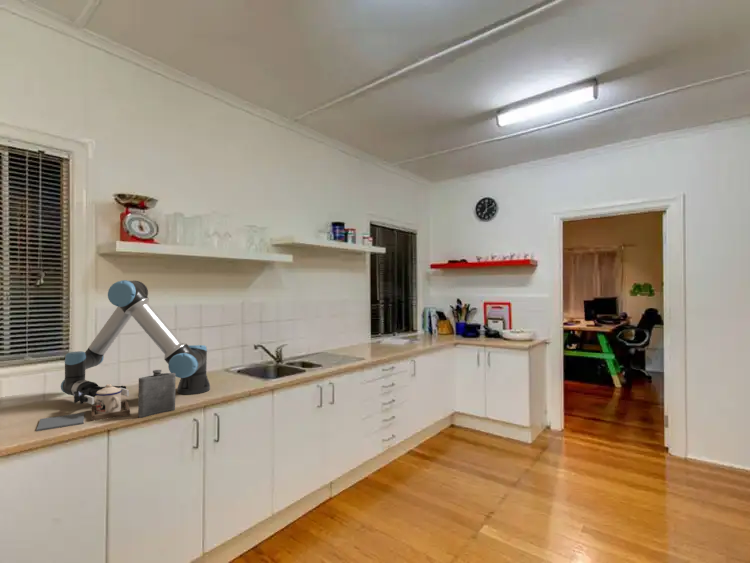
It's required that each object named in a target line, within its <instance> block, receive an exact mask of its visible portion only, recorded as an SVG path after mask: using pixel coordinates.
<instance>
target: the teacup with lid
mask: <svg viewBox="0 0 750 563" xmlns="http://www.w3.org/2000/svg"><path fill="white" fill-rule="evenodd" d="M114 386H115V385H113V384H111V383H110V384H109V383H107V384H106V385H105V386H103V387H104V388H103V389H101V390H98V391H97V392H96V395H97V396H95V398H96V399H95V400H96V403H95V405H96V410H95V415H97V414H104V413H111V412H117V411H122V407H121V402H122V395H121V391H122V390H121V389H120V388H116V387H114Z"/></svg>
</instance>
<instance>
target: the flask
mask: <svg viewBox="0 0 750 563" xmlns="http://www.w3.org/2000/svg"><path fill="white" fill-rule="evenodd" d="M152 373H153V375H148V376H142V377H138V398H137V400H138V402H137V403H138V407H137V408H138V410H137V411H138V412H137V413H138V414H137V415H138V419H141V418H142V419H143V418H146V417H150V416H153V415H158V414H163V413H167V412H174V411H176V378H177V377H176V373H171V372H169V373H168V372H165V373H164V372H163V373H162V369H153V370H152Z"/></svg>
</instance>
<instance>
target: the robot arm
mask: <svg viewBox="0 0 750 563" xmlns="http://www.w3.org/2000/svg"><path fill="white" fill-rule="evenodd" d="M148 290H149V289H148V287H147V285H146V284H144V283H143V282H142V281H140V280H127V279H126V280H125V279H124V280H119V281H116V282H114V283H112V284H111V286H110V287H109V289H108V290H107V291H108V292H107V298H108V300H109V302H110V303H111V304H112V305H114V306H115V307H116V308H115V310H113V312H112V313H111V315H110V316H109V318H108V319H107V321H106V322H105V324H104V325H103V327H102V328H101V329H100V330H99V332H98V333H97V335H96V336H95V338H94V339H93V340H92V342H91V343H90V344H89V346H88V348H87V349H86V350H85V351H79V350H78V351H70V352H67V353H66V354H65V358H64V380H62V382H61V384H60V390H61V391H62V392H63V393H65V394H67V395H69V396H73V403H74V404H77V403H78V402H79V405H83V404H84V403H86V404H89V405H95V398H96V396H97V395H96V392H97V391H98V390H101V389H103V388H104V387H105V386H99V385H98V384H97V383H96V382H94V381H90V380H86V371H87V370H88V369H91V368H94V367H97V366H98V365H100V364H101V363H103V361H104V355H105V354H106V353H107V351H108V350H109V348H110V347H111V346H112V344H113V343H114V341H115V340H116V339H117V337H119V335H120V333H121V332H122V330H123V329H124V327H125V326H126V325H127V323H128V322H129V321H130V319H131V318H133V319H134V320H135V321H136V322H137V324H139V326H140V327H141V328H142V329H143V331H144V332H145V333H146V334H147V336H148V337H150V339H151V340H152V341H153V342H154V344H155V345H156V346H157V347H158V349H159V350H160V351H161V352H162V353H163V354H164V358H163V359H164V361H165V362H166V363H167V364H168V371H169V373H176V377H175V378H178V379H179V378H180V379H179V382H178V385H177V388H176V389H177V392H176V393H177V394H181V395H196V394H197V395H198V394H202V393H206V392H208V391H210V390H211V385H210V380H209V378H208V375H207V370H208V369H207V364H208V362H207V361H208V360H207V356H208V354H207V353H208V349H207V346H206V345H205V344H203V345H202V344H201V345H199V344H198V345H197V344H196V345H194V344H193V345H189V344H187V343H185V342H181V341H180V339H179V338H178V337H177V335H176V334H175V333H174V332H173V331H172V329H170V328H169V326H168V325H167V324H166V323H165V321H164V320H163V319H162V318H161V317H160V315H159V314H158V313H157V312H156V311H155V309H153V307H152V306H151V305H150V303H149V302H150V299H149V291H148ZM113 386H114V387H116V388H120V389H121V390H122V391H121V396H123V397H124V396H125V397H129V396H130V390H129V389H127V386H126V385H113Z"/></svg>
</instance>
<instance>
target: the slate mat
mask: <svg viewBox="0 0 750 563" xmlns="http://www.w3.org/2000/svg"><path fill="white" fill-rule="evenodd" d="M84 420H85V412H79V413H72V414H64V415H57V416H51V417H43V418H40V419H39V422H38V425H37V427H36V432H41V431H46V430H52V429H59V427H60V428H65V427H72V426H77V425H78V426H79V425H84Z"/></svg>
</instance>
